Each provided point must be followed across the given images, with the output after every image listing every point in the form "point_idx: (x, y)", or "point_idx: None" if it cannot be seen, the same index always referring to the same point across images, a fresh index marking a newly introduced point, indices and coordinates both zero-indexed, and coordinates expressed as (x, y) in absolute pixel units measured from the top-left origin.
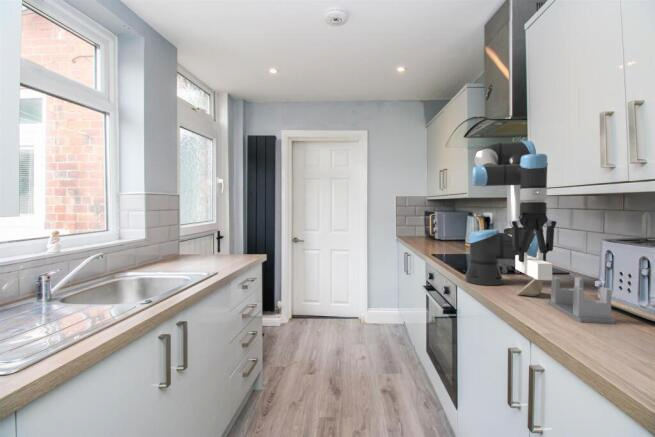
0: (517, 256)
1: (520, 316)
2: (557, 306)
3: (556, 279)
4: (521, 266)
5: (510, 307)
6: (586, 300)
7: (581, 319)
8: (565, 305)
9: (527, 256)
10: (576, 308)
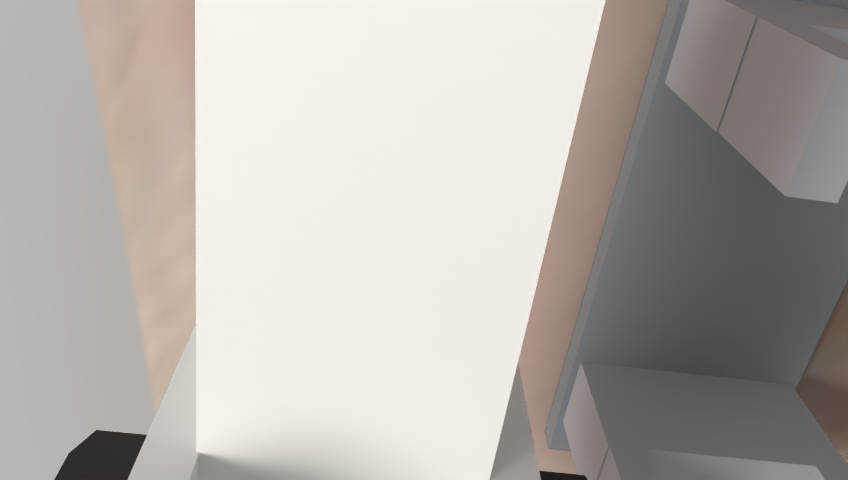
0: (202, 30)
1: (180, 338)
2: (635, 138)
3: (786, 191)
4: (194, 329)
5: (184, 113)
6: (696, 470)
7: (554, 447)
8: (710, 151)
9: (457, 172)
10: (580, 441)
